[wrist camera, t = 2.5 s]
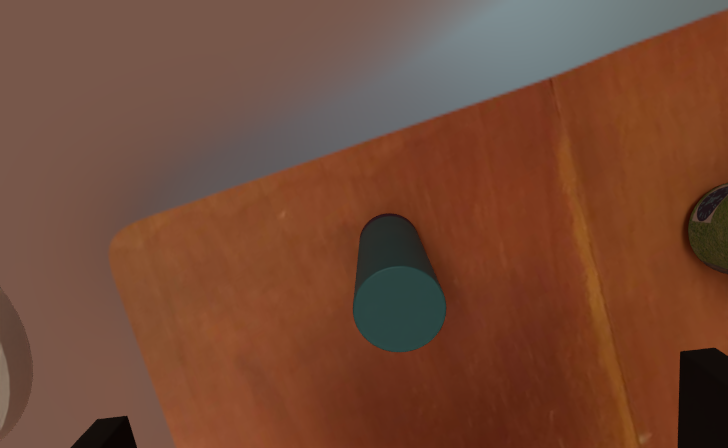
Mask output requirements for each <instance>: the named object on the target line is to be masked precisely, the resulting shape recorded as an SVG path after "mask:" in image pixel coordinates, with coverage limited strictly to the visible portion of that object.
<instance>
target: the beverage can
mask: <svg viewBox="0 0 728 448" xmlns="http://www.w3.org/2000/svg"><path fill="white" fill-rule="evenodd" d="M688 235H689V241H690V244H691V247H692V249H693V251H694V253H695V254H696V255H697V257H698V258H699V259H700V260H701V261H702V262H703V263H704V264H706V265H707V266H709V267H710V268H712V269H714V270H717V271H719V272H722V273H726V274H728V183H726V184H723V185H720V186H718V187H716V188H714V189H713V190H711V191H710V192H708V193H707V194H706V195H705V196H704V197H703V198H702V199H701V200H700V201H699V202H698V203H697V205H696V206H695V208H694V210H693V212H692V214H691V217H690V220H689V226H688Z"/></svg>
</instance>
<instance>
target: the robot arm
mask: <svg viewBox="0 0 728 448" xmlns="http://www.w3.org/2000/svg"><path fill="white" fill-rule="evenodd" d="M71 448H137V446H136V443H135V440H134V436H133V433H132V430H131V427H130V423H129V420H128V417H127V416H122V417H113V418H105V419H97V420H96V421H95V422H94V423H93V424H92V426H91V427H89V429H88V430H87V431H86V432H85V433H84V434H83V435H82V436H81V437H80V438H79V439H78V440H77V441H76V442H75V444H74V445H73V446H72V447H71ZM678 448H728V356H727V355H725V354H724V353H722V352H721V351H719V350H718V349H716V348H708V349H699V350H690V351H682V352H680V380H679V417H678Z"/></svg>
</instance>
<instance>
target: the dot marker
mask: <svg viewBox="0 0 728 448" xmlns="http://www.w3.org/2000/svg"><path fill="white" fill-rule="evenodd" d="M353 316H354V320H355V323H356V326H357V328H358V329H359V331H360V333H361V334H362V335H363V336H364V338H366V339H367V340H368V341H369V342H370V343H371V344H373V345H375V346H376V347H378V348H381V349H383V350H387V351H391V352H407V351H412V350H415V349H418V348H420V347H422V346H424V345H426V344H427V343H429V342H430V341H431V340H432V339H433V338H434V337H435V336H436V335H437V333H438V332H439V331H440V329H441V327H442V325H443V323H444V320H445V316H446V301H445V296H444V294H443V291H442V289H441V287H440V284H439V282H438V280H437V277H436V275H435V273H434V270H433V268H432V266H431V264H430V261H429V259H428V257H427V254H426V252H425V250H424V247H423V245H422V243H421V241H420V238H419V236H418V234H417V231H416V229H415V227H414V226H413V225H412V223H411V222H410V221H409V220H407V219H406V218H404V217H402V216H400V215H397V214H382V215H379V216H376V217H374V218H373V219H371V220H370V221H369V222H368V223H367V224H366V225H365V227H364V228H363V230H362V232H361V236H360V243H359V253H358V262H357V272H356V282H355V292H354V301H353Z"/></svg>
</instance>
